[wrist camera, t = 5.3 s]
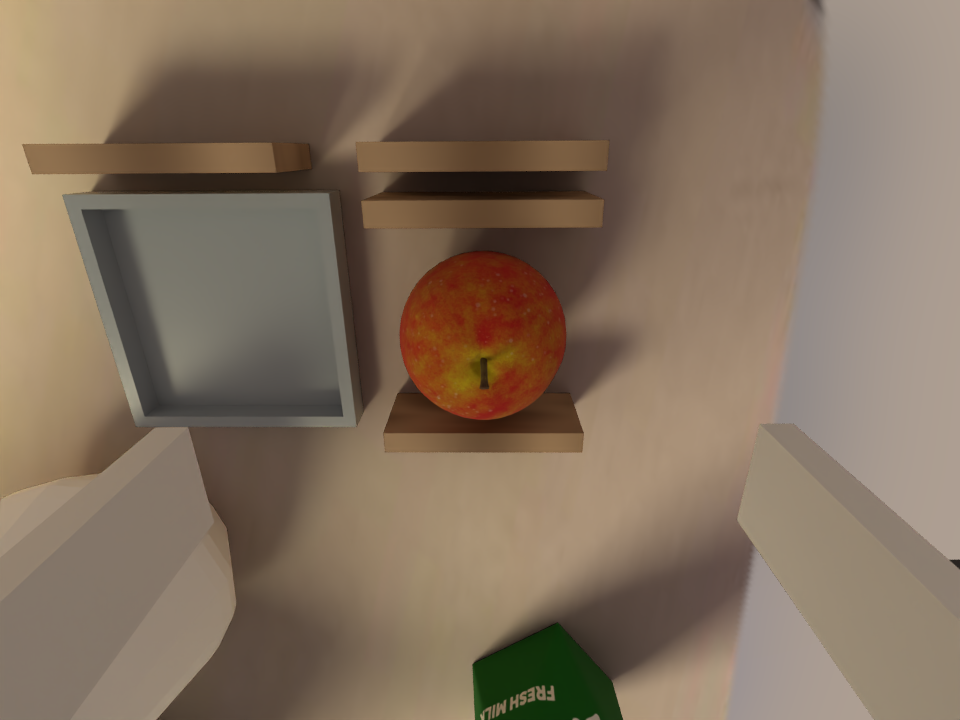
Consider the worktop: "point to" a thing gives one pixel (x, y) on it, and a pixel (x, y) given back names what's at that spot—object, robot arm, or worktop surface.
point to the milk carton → (543, 682)
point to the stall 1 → (167, 158)
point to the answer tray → (224, 305)
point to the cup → (166, 628)
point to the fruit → (482, 335)
